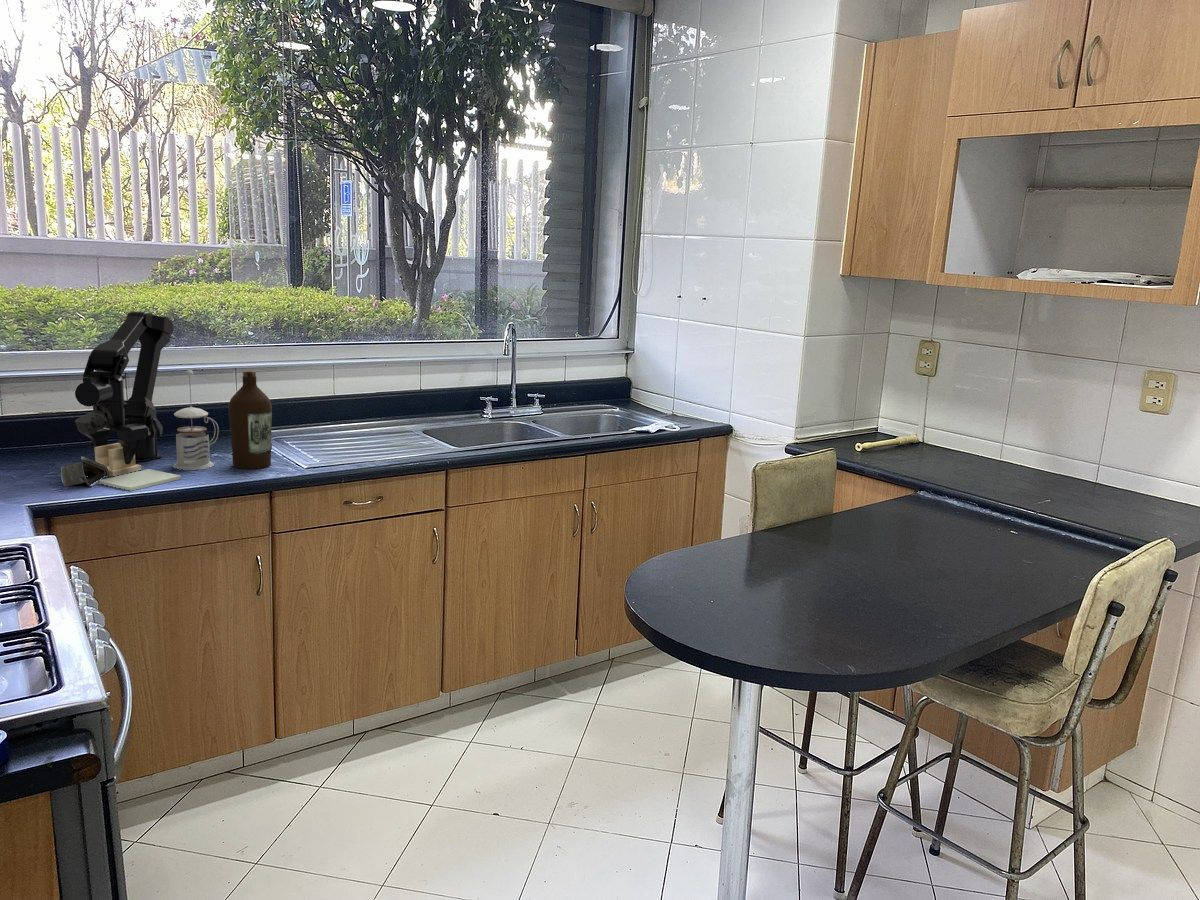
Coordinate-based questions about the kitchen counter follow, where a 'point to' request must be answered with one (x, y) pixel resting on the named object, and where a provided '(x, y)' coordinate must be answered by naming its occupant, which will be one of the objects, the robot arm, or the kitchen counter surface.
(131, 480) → the sage board
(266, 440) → the olive oil
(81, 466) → the chocolate cake
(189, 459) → the french press
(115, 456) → the wooden slotted holder
